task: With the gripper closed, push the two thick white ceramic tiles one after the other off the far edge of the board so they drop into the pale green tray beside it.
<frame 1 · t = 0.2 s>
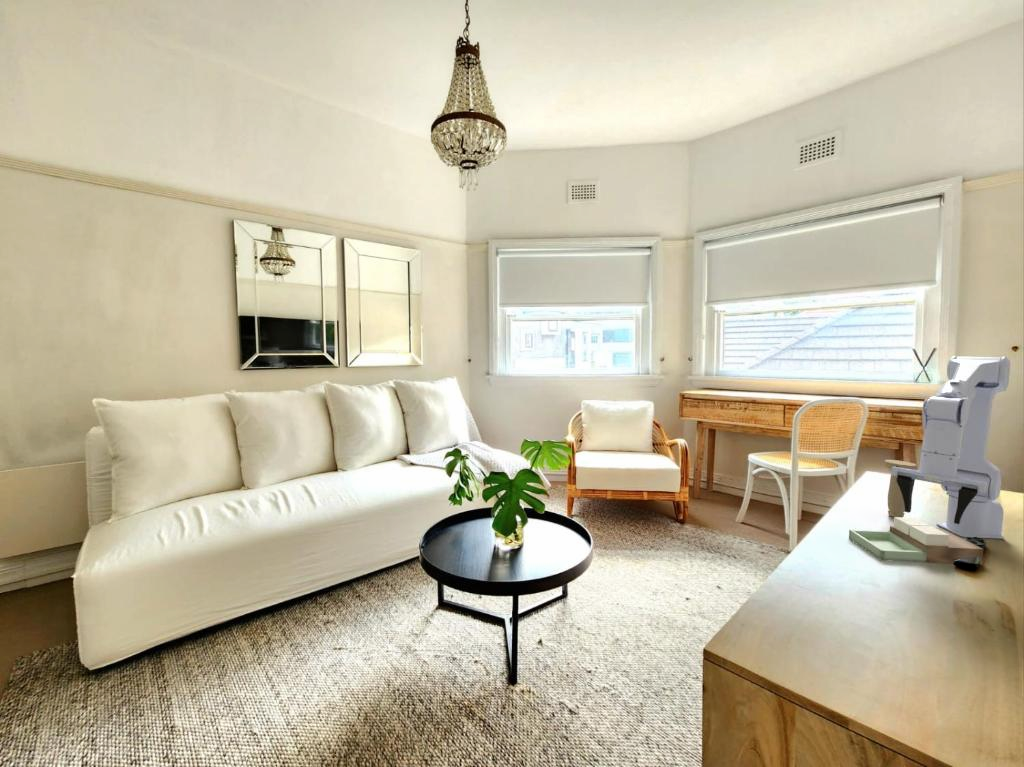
hand: (931, 517, 95), 10 cm above the table, tool pointing down, fingers open, 7 cm apart
tile b: (928, 541, 100), point 3 cm above the table, touching board
handle: (895, 517, 123), on the table
tray: (885, 549, 103), on the table
tile a: (911, 531, 104), point 3 cm above the table, touching board
board: (932, 551, 102), on the table
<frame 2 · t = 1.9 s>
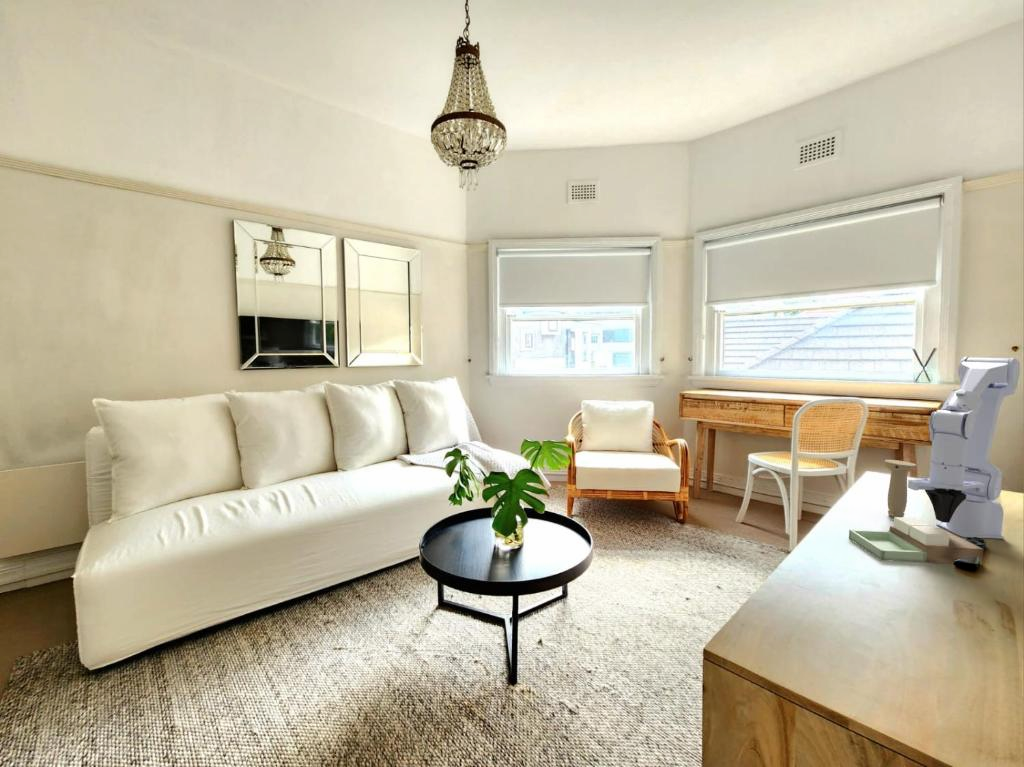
hand: (942, 520, 104), 6 cm above the table, tool pointing down, fingers closed
nothing on the table moved.
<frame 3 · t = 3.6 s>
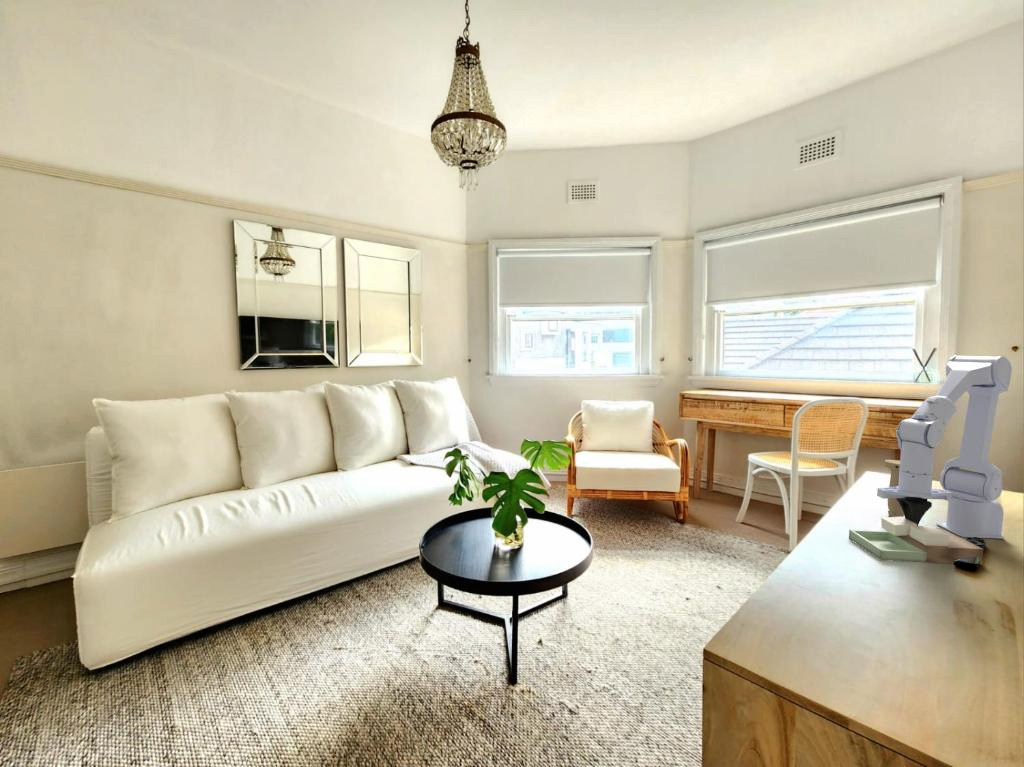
hand: (911, 528, 104), 4 cm above the table, tool pointing down, fingers closed, pressing on tile a
tile a: (898, 531, 105), point 3 cm above the table, tilted 6°, touching board, gripper
everything else where it was.
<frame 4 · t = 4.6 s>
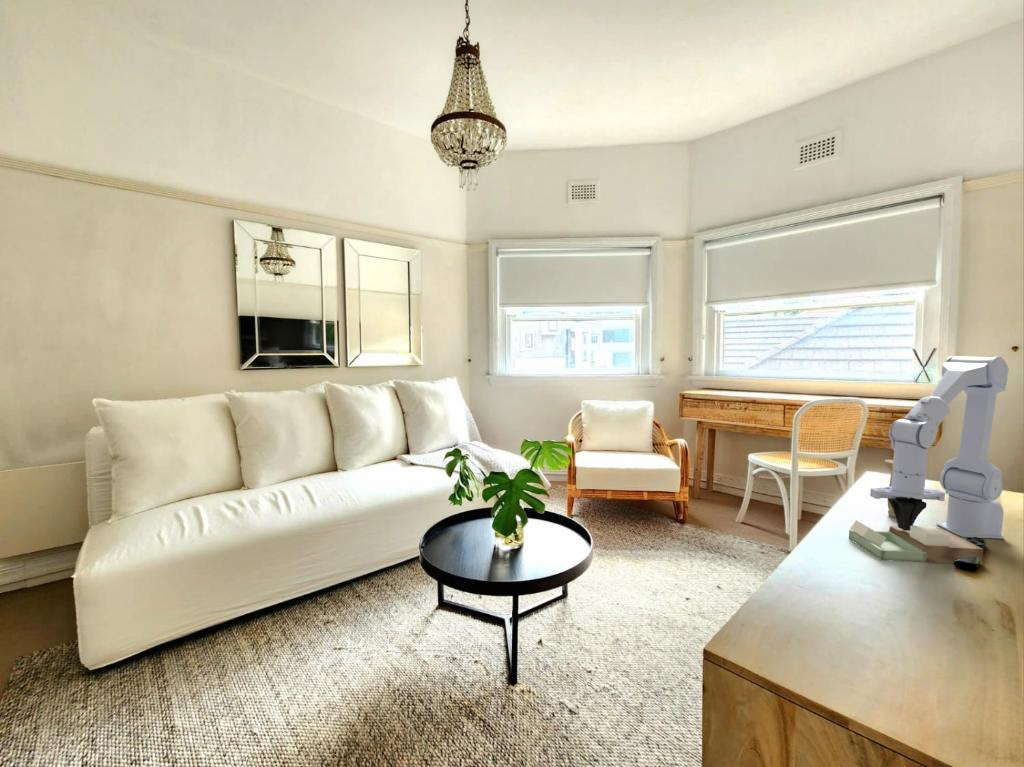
hand: (904, 528, 105), 4 cm above the table, tool pointing down, fingers closed
tile a: (871, 528, 105), point 4 cm above the table, tilted 150°, touching tray
everything else where it was.
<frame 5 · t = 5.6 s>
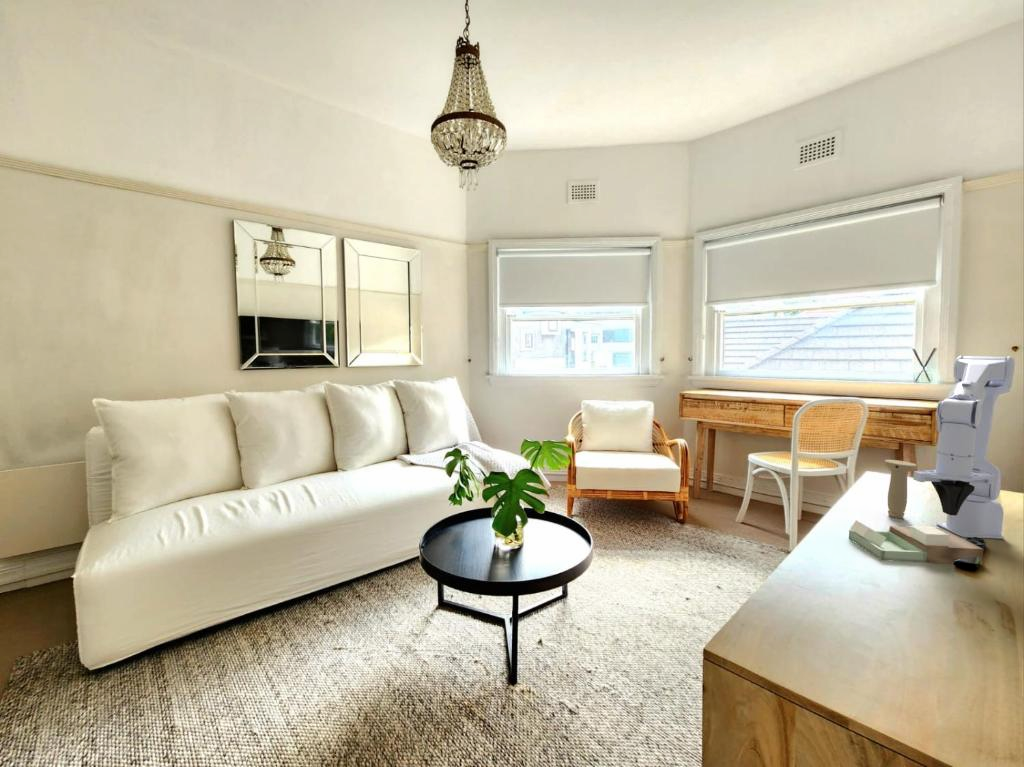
hand: (949, 513, 100), 9 cm above the table, tool pointing down, fingers closed
nothing on the table moved.
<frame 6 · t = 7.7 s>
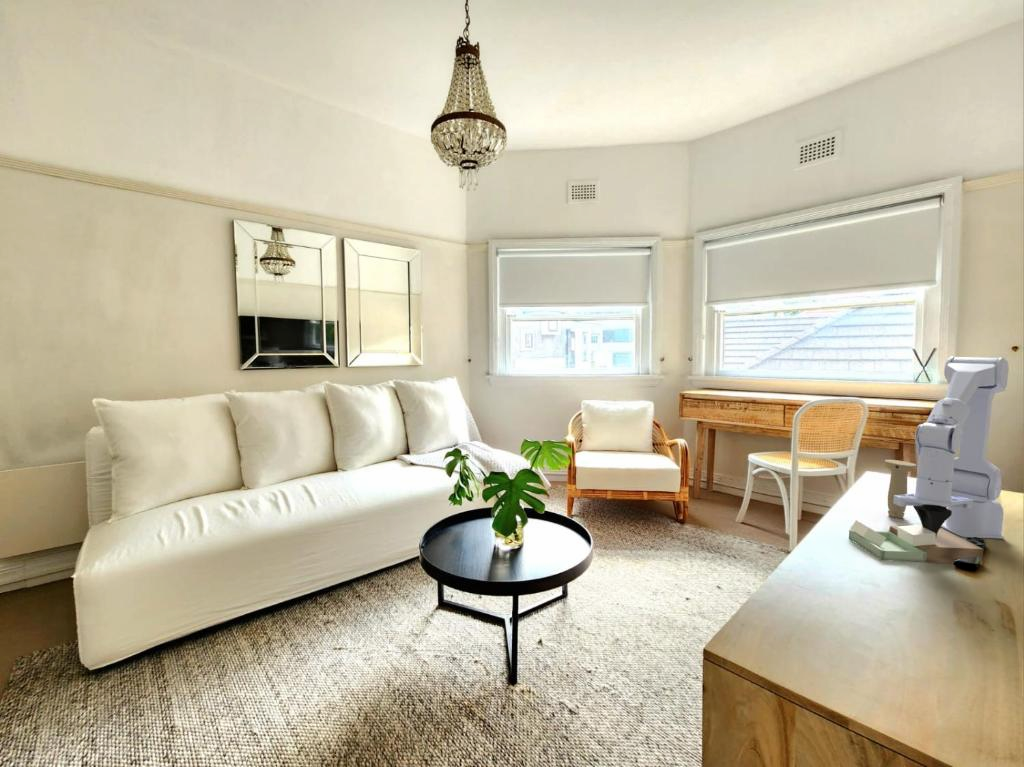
hand: (929, 537, 99), 4 cm above the table, tool pointing down, fingers closed, pressing on tile b
tile b: (916, 540, 100), point 4 cm above the table, tilted 7°, touching board, gripper
everything else where it was.
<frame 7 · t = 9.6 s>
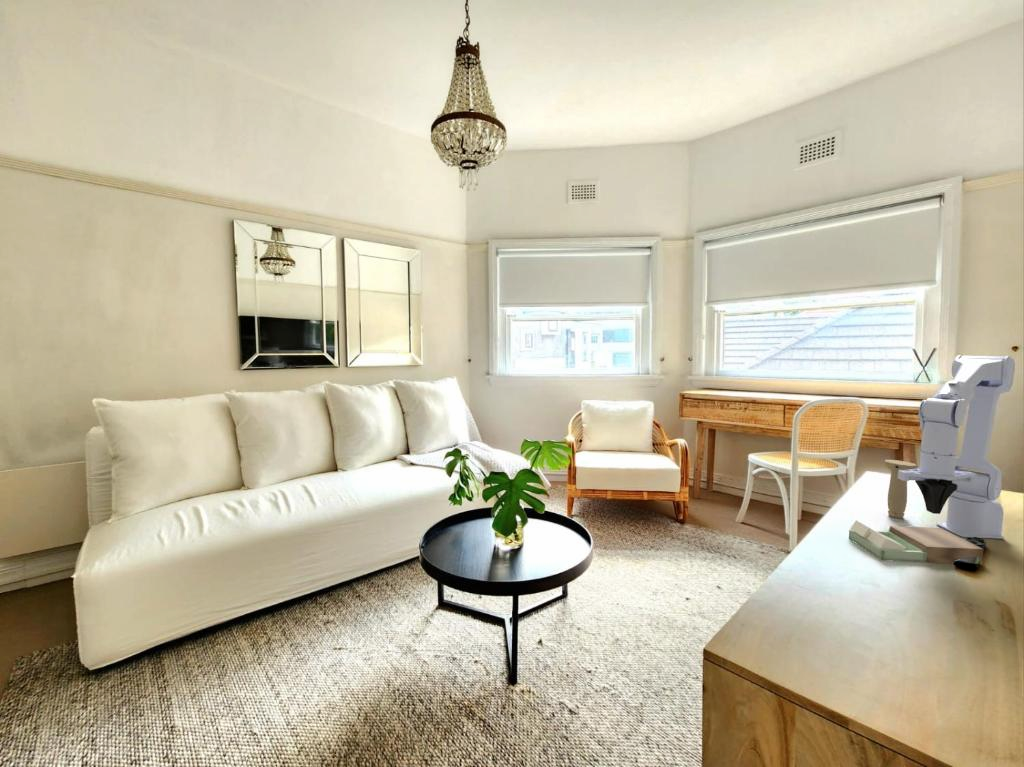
hand: (933, 512, 101), 9 cm above the table, tool pointing down, fingers closed
tile b: (888, 538, 100), point 4 cm above the table, tilted 156°, touching tray
everything else where it was.
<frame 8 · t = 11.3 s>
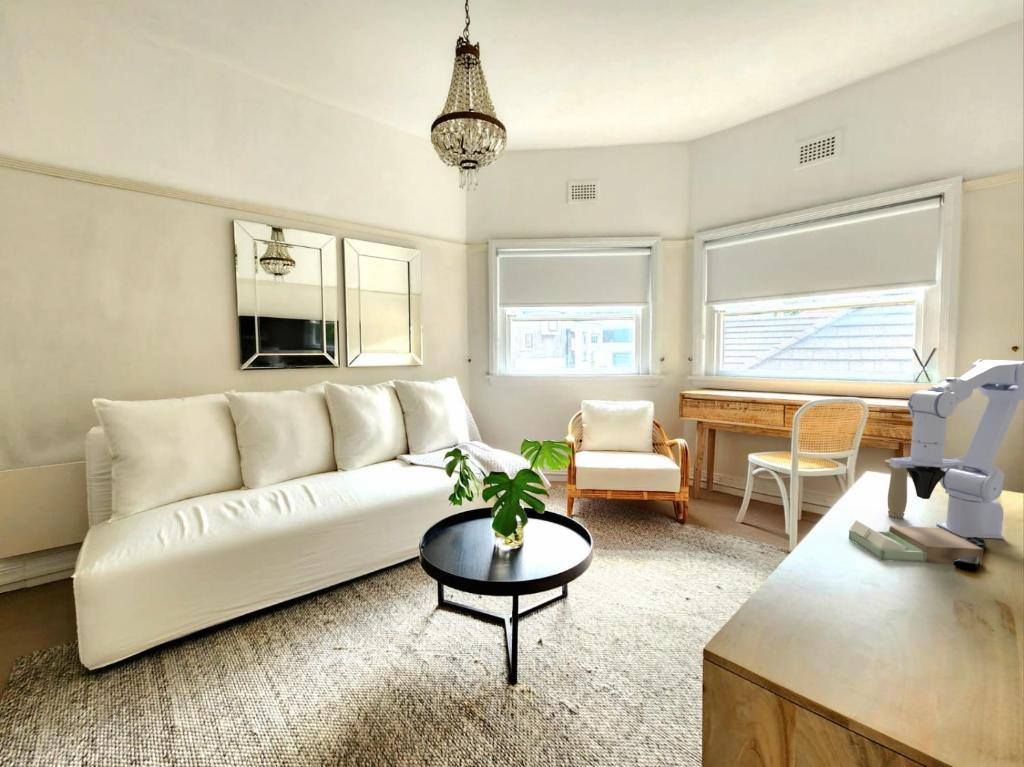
hand: (923, 497, 107), 10 cm above the table, tool pointing down, fingers closed
nothing on the table moved.
at the end: tile a inside the target area (2.6 cm from its centre), point 3.8 cm above the table; tile b inside the target area (2.4 cm from its centre), point 3.7 cm above the table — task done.
